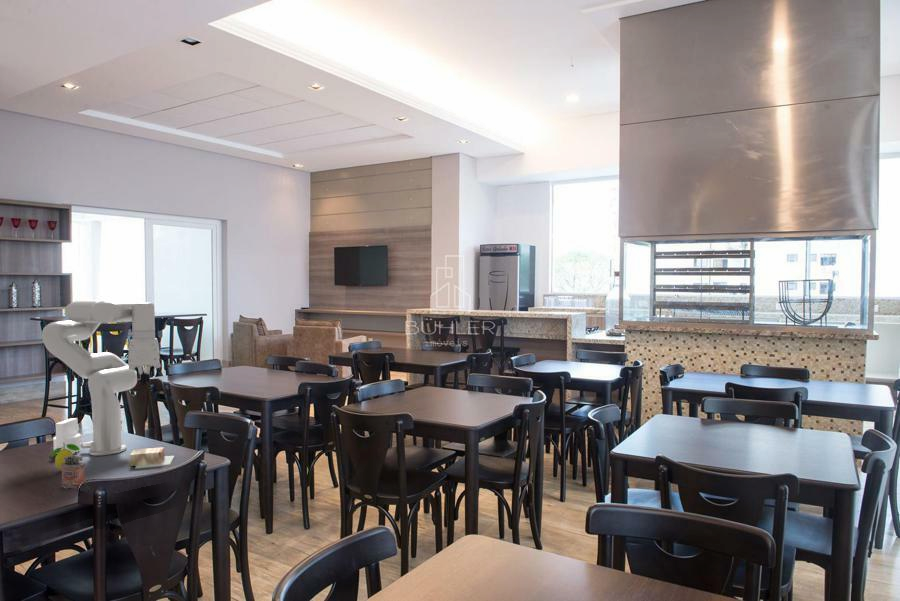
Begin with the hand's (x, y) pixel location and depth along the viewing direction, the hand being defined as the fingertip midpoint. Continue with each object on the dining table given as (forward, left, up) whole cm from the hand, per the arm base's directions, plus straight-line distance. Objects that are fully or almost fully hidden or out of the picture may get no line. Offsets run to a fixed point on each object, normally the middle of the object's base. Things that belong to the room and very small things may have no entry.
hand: (145, 384), depth 223 cm
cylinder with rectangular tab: (-31, +17, -27) cm, 45 cm away
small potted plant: (-16, -30, -27) cm, 44 cm away
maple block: (-3, -10, -25) cm, 27 cm away
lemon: (-24, -10, -27) cm, 38 cm away
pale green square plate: (+5, -10, -27) cm, 29 cm away
